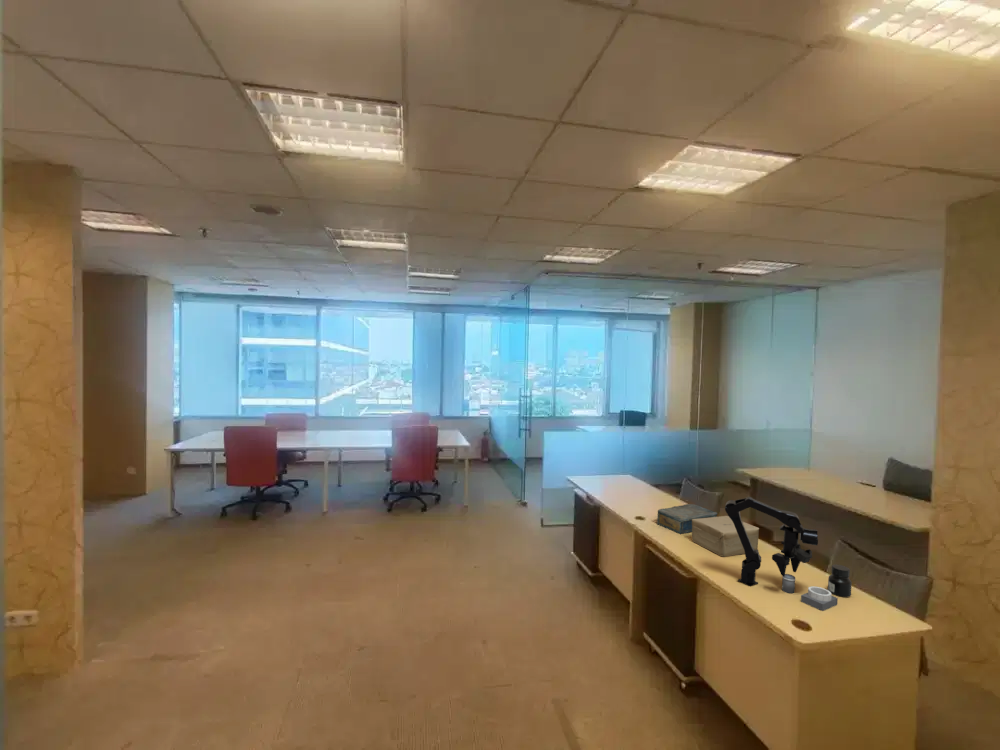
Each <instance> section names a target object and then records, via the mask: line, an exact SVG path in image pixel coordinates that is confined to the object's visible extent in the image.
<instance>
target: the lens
mask: <svg viewBox="0 0 1000 750" xmlns="http://www.w3.org/2000/svg"><path fill="white" fill-rule="evenodd" d="M781 576H782V575H781ZM781 582H782V585H781V590H782V592H784V593H786V594H790V595H791V594H793V595H794V594H795V589H796V577H795V576H794V575H792V574H789V573H785V576H782V581H781Z"/></svg>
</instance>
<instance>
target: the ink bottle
mask: <svg viewBox="0 0 1000 750" xmlns="http://www.w3.org/2000/svg"><path fill="white" fill-rule="evenodd" d="M850 570H851V569H850V568H849V567H847V566H845V565H842V564H832V565H831V574H830V575H829V576H828V577H827V578H828V581H827V583H828V584H827V590H828V591H830V592H831V594H832V595H833V596H834V595H835V596H837V597H842V598H850V597H851V595H852V586H853V585H852V584H853V582H852V581H851V579H850Z"/></svg>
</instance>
